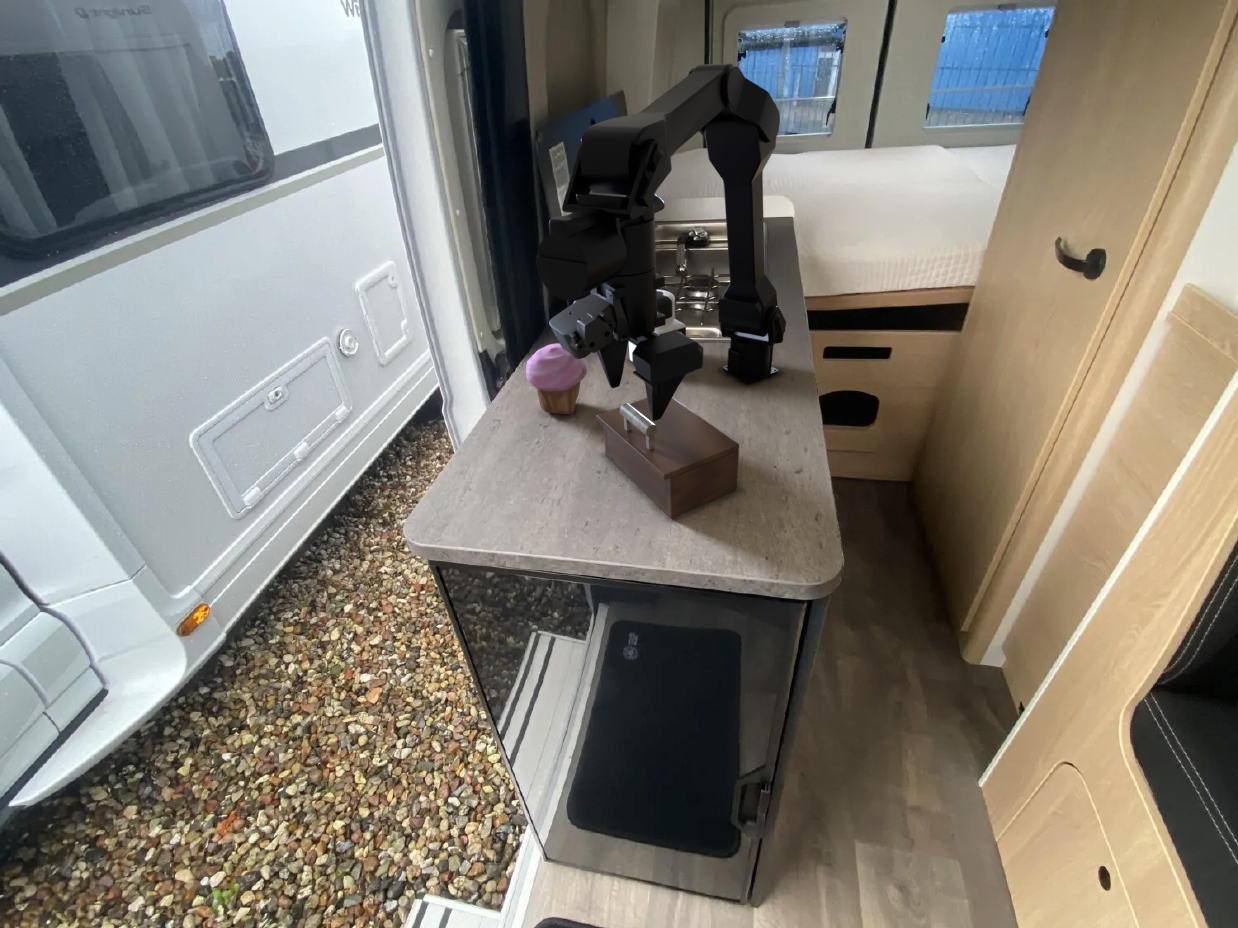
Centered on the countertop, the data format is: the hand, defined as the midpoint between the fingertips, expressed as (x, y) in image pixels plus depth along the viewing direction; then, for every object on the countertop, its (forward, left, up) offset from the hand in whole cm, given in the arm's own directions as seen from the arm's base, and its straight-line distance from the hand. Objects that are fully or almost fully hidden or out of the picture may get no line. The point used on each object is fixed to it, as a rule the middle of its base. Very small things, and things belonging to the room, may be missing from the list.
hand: (634, 402), depth 70 cm
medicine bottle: (-20, -26, -12) cm, 35 cm away
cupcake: (0, -22, -12) cm, 25 cm away
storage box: (-4, +1, -11) cm, 12 cm away
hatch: (-4, +1, -5) cm, 7 cm away
